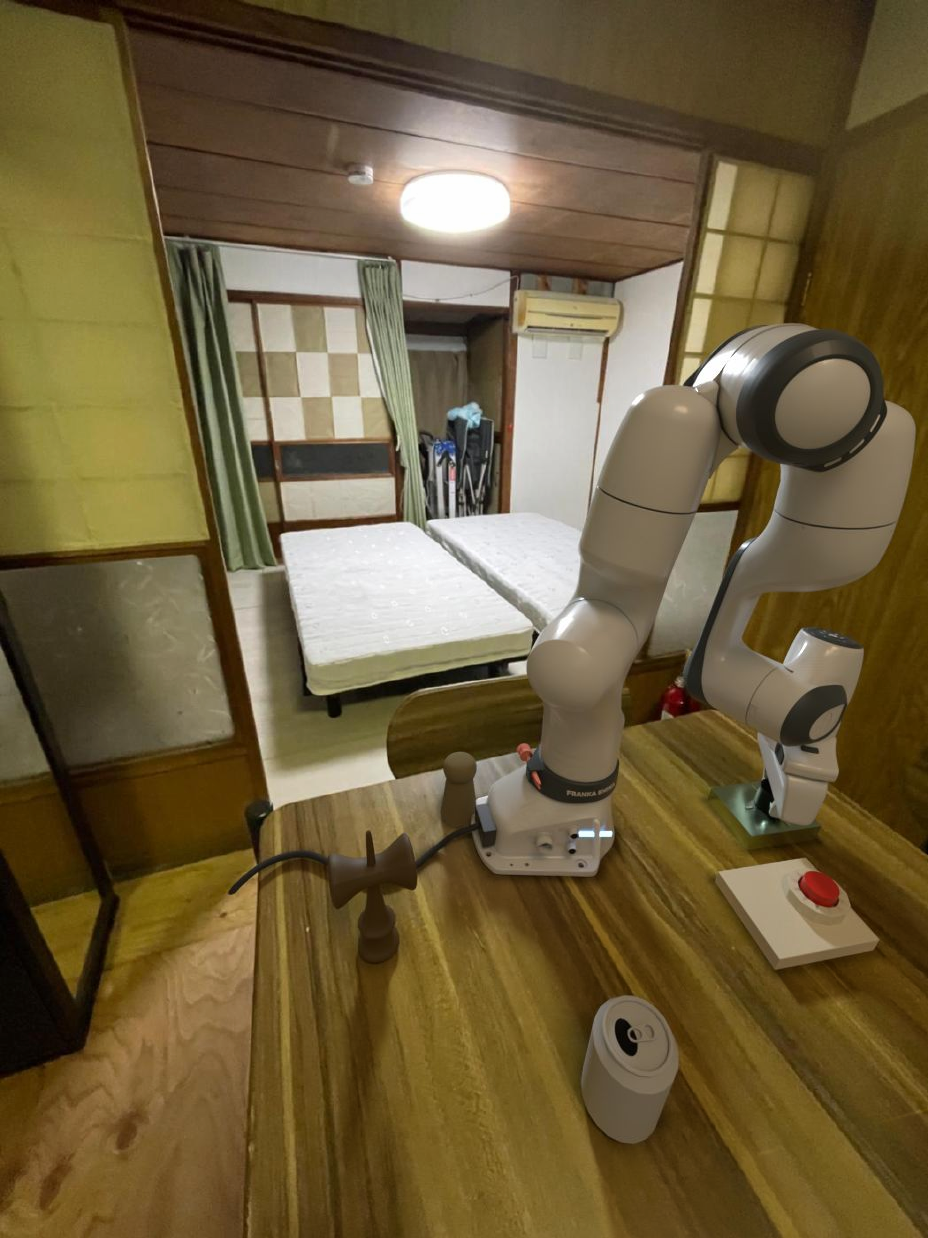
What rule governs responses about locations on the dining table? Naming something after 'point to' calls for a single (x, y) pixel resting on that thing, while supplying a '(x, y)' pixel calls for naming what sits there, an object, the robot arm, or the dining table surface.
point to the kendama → (373, 892)
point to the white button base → (792, 915)
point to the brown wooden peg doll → (459, 789)
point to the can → (628, 1068)
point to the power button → (819, 888)
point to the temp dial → (764, 795)
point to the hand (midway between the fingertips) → (770, 800)
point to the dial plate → (755, 818)
